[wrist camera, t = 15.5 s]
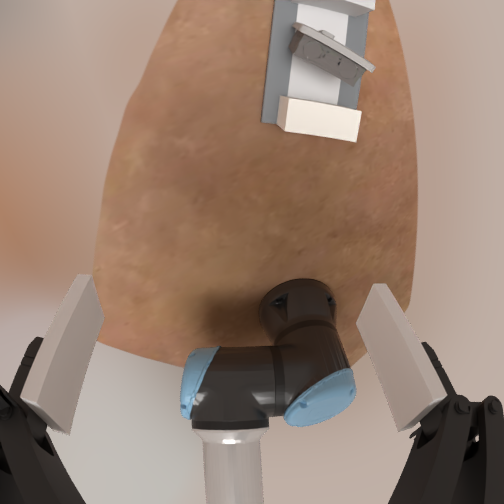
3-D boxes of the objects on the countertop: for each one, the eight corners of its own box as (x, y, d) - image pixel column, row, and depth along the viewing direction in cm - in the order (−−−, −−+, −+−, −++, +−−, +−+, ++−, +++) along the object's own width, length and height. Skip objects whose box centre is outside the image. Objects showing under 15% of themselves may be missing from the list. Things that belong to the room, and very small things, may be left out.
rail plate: (348, 133, 38) (369, 144, 32) (260, 121, 37) (267, 129, 31) (366, 0, 26) (390, -10, 20) (276, -21, 25) (286, -39, 19)
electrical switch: (354, 54, 31) (384, 56, 23) (338, 83, 33) (364, 92, 26) (293, 21, 28) (309, 11, 21) (276, 52, 31) (287, 50, 24)
